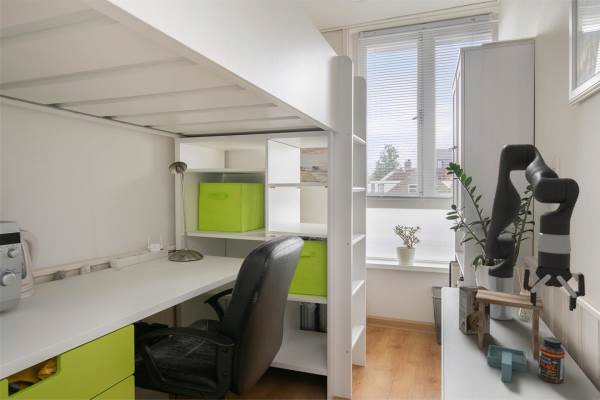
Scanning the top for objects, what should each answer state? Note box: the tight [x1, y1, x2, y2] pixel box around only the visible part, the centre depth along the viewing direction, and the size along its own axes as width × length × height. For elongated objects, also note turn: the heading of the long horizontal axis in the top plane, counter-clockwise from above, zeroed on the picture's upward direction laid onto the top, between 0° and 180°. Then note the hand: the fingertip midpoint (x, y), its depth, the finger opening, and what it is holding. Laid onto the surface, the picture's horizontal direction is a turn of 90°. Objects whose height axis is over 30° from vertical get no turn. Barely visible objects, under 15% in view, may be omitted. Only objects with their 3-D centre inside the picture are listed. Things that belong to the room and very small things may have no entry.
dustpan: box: [486, 343, 528, 383], centre depth 113 cm, size 19×10×5 cm, turn 151°
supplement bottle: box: [538, 336, 566, 384], centre depth 107 cm, size 6×6×11 cm
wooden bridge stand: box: [476, 290, 544, 361], centre depth 127 cm, size 11×19×17 cm, turn 61°
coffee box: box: [458, 285, 491, 335], centre depth 142 cm, size 9×6×16 cm
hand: (552, 307), depth 106 cm, fingers open, 8 cm apart
